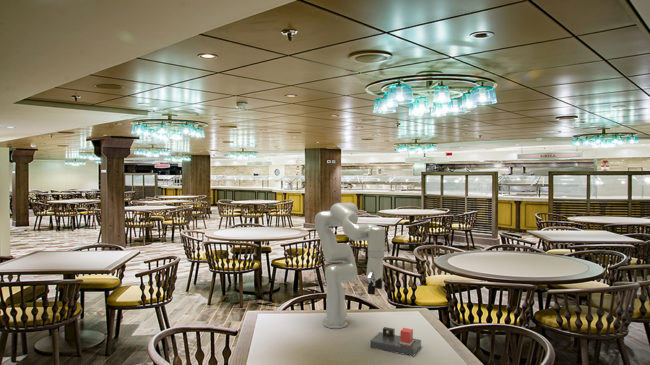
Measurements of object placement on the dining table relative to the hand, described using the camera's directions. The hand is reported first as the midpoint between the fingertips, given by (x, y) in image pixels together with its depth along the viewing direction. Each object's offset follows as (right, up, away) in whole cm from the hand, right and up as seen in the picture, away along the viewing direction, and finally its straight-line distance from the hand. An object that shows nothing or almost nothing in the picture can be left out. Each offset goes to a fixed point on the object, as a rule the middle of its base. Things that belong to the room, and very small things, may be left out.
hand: (374, 291), depth 192 cm
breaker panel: (+10, -26, +1) cm, 27 cm away
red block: (+14, -22, -1) cm, 26 cm away
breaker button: (+14, -25, -1) cm, 29 cm away
